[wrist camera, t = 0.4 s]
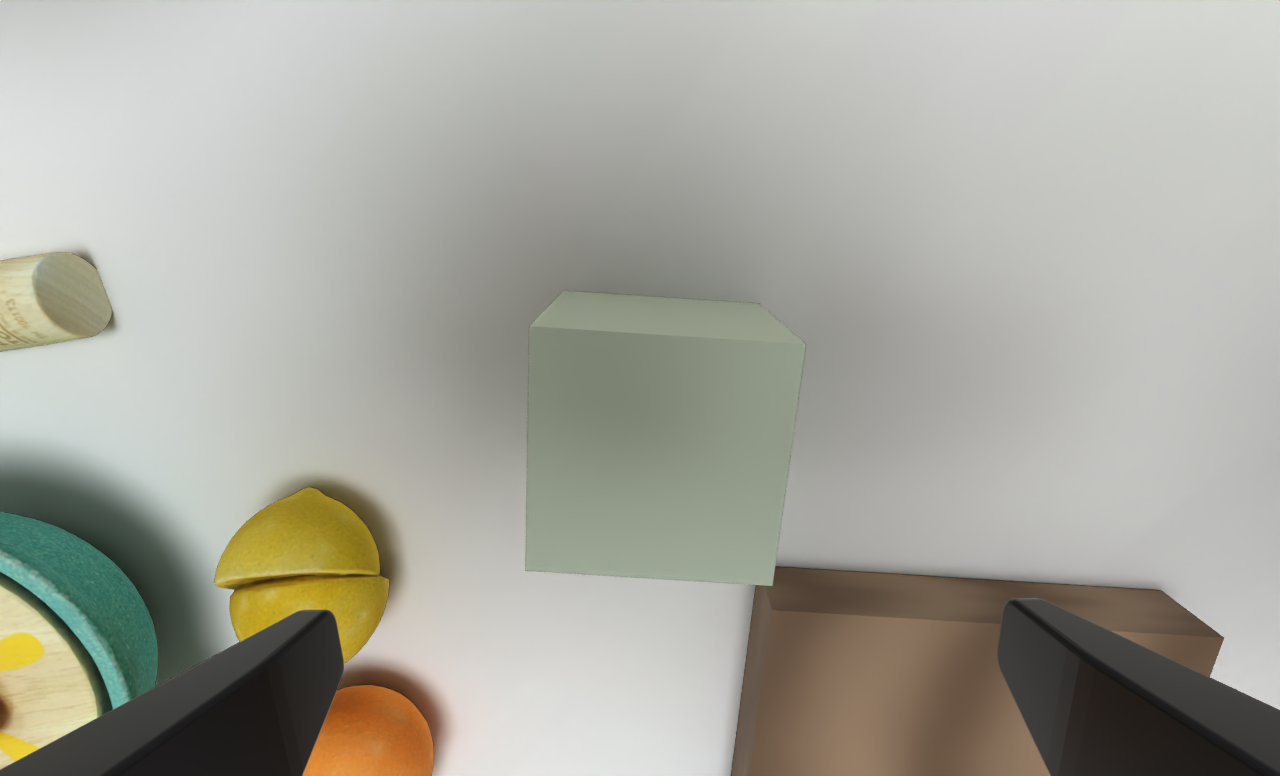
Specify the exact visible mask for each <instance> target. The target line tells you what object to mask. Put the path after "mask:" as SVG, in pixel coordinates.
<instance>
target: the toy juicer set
mask: <svg viewBox="0 0 1280 776" xmlns="http://www.w3.org/2000/svg"><path fill="white" fill-rule="evenodd" d="M111 316H112V307H111V305H110V302H109V299H108V296H107V294H106V291H105V288H104V286H103V283H102V281H101V278H100V276H99V273H98V271H97V270H96V269H95V268H94V267H93V266H92V265H91V264H89V263H88V262H87V261H85V260H84V259H82V258H80V257H78V256H76V255H74V254H70V253H66V252H55V253H48V254H41V255H34V256H27V257H21V258H14V259H8V260H2V261H0V352H2V351H8V350H15V349H22V348H28V347H35V346H42V345H48V344H54V343H59V342H65V341H71V340H76V339H82V338H88V337H92V336H95V335H97V334H99V333H100V332H101V331H102V330H103V329H104V328H106V326H107V324H108V322H109V320H110V318H111ZM214 583H215V585H216V586H218V587H221V588H227V589H234V592H233V594H232V595H231V596H230V616H231V621H232V625H233V627H234V630H235V633H236V636H237V638H238V640H239V641H240V642H241V641H243V640H244V639H246V638H248V637H250V636H252V635H254V634H256V633H258V632H259V631H261V630H263V629H265V628H267V627H269V626H271V625H273V624H275V623H276V622H278V621H280V620H282V619H284V618H286V617H288V616H290V615H291V614H293V613H295V612H297V611H300V610H325V609H327V610H329V611H331V612H332V613H333V614H334V616H335V618H336V622H337V627H338V632H339V637H340V643H341V648H342V653H343V659H344V663H346V662H347V661H349V660H350V659H351V658H352V657H354V656H355V655H356V654H357V653H358V652H359V651H360V650H361V649H362V647H363V646H364V645H365V644H366V643H367V641H368V640H369V638H370V637H371V636H372V634H373V633H374V631H375V629H376V627H377V626H378V624H379V622H380V620H381V617H382V615H383V612H384V609H385V605H386V602H387V598H388V592H389V579H387V578H384V577H382V576H380V562H379V554H378V550H377V547H376V544H375V541H374V539H373V537H372V535H371V533H370V531H369V529H368V527H367V526H366V525H365V524H364V522H363V521H362V520H361V519H360V518H359V517H358V516H357V515H356V514H355V513H354V512H353V511H352V510H351V509H349V508H348V507H347V506H345V505H344V504H342V503H341V502H339V501H336V500H334V499H332V498H329V497H327V496H325V495H324V494H323V493H321V492H320V491H319V490H318V489H314V488H309V487H308V488H305V489H302V490H300V491H298V492H296V493H295V494H293V495H291V496H289V497H287V498H284V499H281V500H279V501H277V502H275V503H273V504H271V505H269V506H267V507H266V508H264V509H263V510H261V511H260V512H258V513H257V514H255V515H254V516H253V517H252V518H251V519H249V520H248V521H247V522H246V523H245V524H244V525H243V526H242V527H241V528H240V529H239V530H238V531H237V533H236V534H235V535H234V536H233V538H232V539H231V540H230V542H229V543H228V545H227V547H226V549H225V551H224V552H223V554H222V556H221V558H220V561H219V564H218V566H217V569H216V574H215V580H214ZM157 666H158V647H157V637H156V633H155V629H154V625H153V621H152V619H151V616H150V613H149V611H148V609H147V607H146V605H145V603H144V601H143V599H142V597H141V596H140V594H139V592H138V591H137V589H136V588H135V586H134V585H133V583H132V582H131V581H130V579H129V578H128V577H127V576H126V575H125V574H124V573H123V572H122V570H121V569H120V568H119V567H118V566H117V565H116V564H115V563H114V562H113V561H112V560H111V559H109V558H108V557H107V556H106V555H104V554H103V553H102V552H100V551H99V550H98V549H96V548H95V547H94V546H92V545H91V544H89V543H87V542H86V541H84V540H82V539H81V538H79V537H77V536H75V535H74V534H72V533H69V532H67V531H65V530H63V529H61V528H59V527H57V526H54V525H51V524H48V523H45V522H42V521H39V520H36V519H33V518H29V517H24V516H19V515H15V514H10V513H5V512H0V769H2V768H4V767H6V766H8V765H10V764H12V763H13V762H15V761H17V760H19V759H21V758H23V757H25V756H27V755H28V754H30V753H32V752H34V751H36V750H38V749H40V748H42V747H44V746H45V745H47V744H49V743H51V742H53V741H55V740H57V739H59V738H60V737H62V736H64V735H66V734H68V733H70V732H72V731H74V730H75V729H77V728H79V727H81V726H83V725H85V724H87V723H89V722H90V721H92V720H94V719H96V718H98V717H100V716H102V715H104V714H105V713H107V712H109V711H111V710H113V709H115V708H117V707H119V706H121V705H122V704H124V703H126V702H128V701H130V700H132V699H134V698H136V697H137V696H139V695H141V694H143V693H145V692H147V691H149V690H151V689H152V688H154V686H155V682H156V678H157ZM433 760H434V750H433V741H432V736H431V733H430V730H429V726H428V723H427V722H426V720H425V719H424V717H423V716H422V714H421V713H420V711H419V710H418V709H417V707H416V706H415V705H414V704H413V703H412V702H411V701H410V700H409V699H407V698H406V697H404V696H403V695H402V694H400V693H398V692H396V691H394V690H391V689H388V688H385V687H380V686H374V685H360V686H350V687H346V688H343V689H340V690H337V692H336V694H335V697H334V699H333V702H332V704H331V707H330V709H329V712H328V714H327V717H326V719H325V721H324V724H323V726H322V729H321V731H320V734H319V736H318V739H317V741H316V744H315V746H314V749H313V751H312V754H311V756H310V759H309V761H308V764H307V766H306V769H305V771H304V774H303V776H432V770H433Z"/></svg>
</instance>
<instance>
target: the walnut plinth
mask: <svg viewBox="0 0 1280 776" xmlns="http://www.w3.org/2000/svg"><path fill="white" fill-rule="evenodd" d="M1016 598H1039V599H1043V600H1046V601H1048V602H1050V603H1052V604H1054V605H1057V606H1059V607H1061V608H1063V609H1065V610H1067V611H1069V612H1072V613H1074V614H1076V615H1078V616H1080V617H1082V618H1084V619H1086V620H1089V621H1091V622H1093V623H1095V624H1097V625H1099V626H1101V627H1103V628H1106V629H1108V630H1110V631H1112V632H1114V633H1116V634H1118V635H1121V636H1123V637H1125V638H1127V639H1129V640H1131V641H1133V642H1135V643H1138V644H1140V645H1142V646H1144V647H1146V648H1148V649H1150V650H1153V651H1155V652H1157V653H1159V654H1161V655H1163V656H1165V657H1167V658H1170V659H1172V660H1174V661H1176V662H1178V663H1180V664H1182V665H1184V666H1187V667H1189V668H1191V669H1193V670H1195V671H1197V672H1199V673H1202V674H1204V675H1206V676H1208V677H1210V674H1211V672H1212V669H1213V666H1214V664H1215V661H1216V658H1217V656H1218V653H1219V650H1220V648H1221V645H1222V642H1223V640H1224V637H1222V636H1221V635H1220V634H1218V633H1217V632H1216V631H1214V630H1213V629H1212V628H1210V627H1209V626H1208V625H1206V624H1205V623H1204V622H1202V621H1201V620H1200V619H1198V618H1197V617H1196V616H1194V615H1193V614H1192V613H1190V612H1189V611H1188V610H1186V609H1185V608H1184V607H1182V606H1181V605H1180V604H1178V603H1177V602H1176V601H1174V600H1173V599H1172V598H1170V597H1169V596H1168V595H1166V594H1165V593H1164V592H1163V591H1160V590H1143V589H1127V588H1111V587H1095V586H1079V585H1063V584H1046V583H1030V582H1014V581H998V580H982V579H966V578H949V577H933V576H917V575H901V574H885V573H869V572H852V571H836V570H820V569H804V568H788V567H775V571H774V579H773V586H764V585H756V588H755V595H754V603H753V611H752V618H751V626H750V634H749V641H748V649H747V656H746V664H745V672H744V679H743V687H742V695H741V702H740V710H739V718H738V725H737V733H736V740H735V748H734V756H733V763H732V771H731V776H1050V774H1049V772H1048V770H1047V768H1046V766H1045V764H1044V761H1043V759H1042V757H1041V755H1040V753H1039V751H1038V749H1037V747H1036V745H1035V743H1034V740H1033V738H1032V736H1031V734H1030V732H1029V730H1028V728H1027V726H1026V724H1025V721H1024V719H1023V717H1022V715H1021V713H1020V711H1019V709H1018V707H1017V705H1016V703H1015V700H1014V698H1013V696H1012V694H1011V692H1010V690H1009V688H1008V686H1007V684H1006V681H1005V679H1004V677H1003V675H1002V673H1001V670H1000V668H999V664H998V659H997V647H998V641H999V634H1000V627H1001V620H1002V613H1003V608H1004V605H1005V603H1006V602H1007V601H1008V600H1010V599H1016Z"/></svg>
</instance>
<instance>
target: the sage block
mask: <svg viewBox="0 0 1280 776" xmlns="http://www.w3.org/2000/svg"><path fill="white" fill-rule="evenodd" d="M805 349H806V344H805V343H804V342H803V341H802V340H801V339H800V338H799V337H797V336H796V335H795V334H794V333H793V332H792V331H791V330H789V329H788V328H787V327H786V326H785V325H784V324H783V323H781V322H780V321H779V320H778V319H777V318H776V317H775V316H773V315H772V314H771V313H770V312H769V311H768V310H767V309H765V308H764V307H763V306H762V305H761V304H760V303H746V302H731V301H716V300H700V299H685V298H670V297H655V296H639V295H624V294H609V293H593V292H578V291H563V292H562V293H561V294H560V295H559V296H558V297H557V298H556V299H555V300H554V301H553V302H552V303H551V304H550V305H549V306H548V307H547V308H546V309H545V310H544V311H543V312H542V313H541V314H540V315H539V317H538V318H537V319H536V320H535V321H534V322H533V323H532V324H531V325H530V326H529V370H528V433H527V495H526V557H525V571H538V572H554V573H570V574H586V575H602V576H619V577H635V578H651V579H667V580H683V581H700V582H716V583H732V584H748V585H764V586H773V579H774V571H775V564H776V557H777V550H778V543H779V535H780V528H781V521H782V514H783V507H784V500H785V492H786V485H787V478H788V471H789V464H790V456H791V449H792V442H793V435H794V428H795V420H796V413H797V406H798V399H799V392H800V385H801V377H802V370H803V363H804V356H805Z"/></svg>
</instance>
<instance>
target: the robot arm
mask: <svg viewBox="0 0 1280 776" xmlns="http://www.w3.org/2000/svg"><path fill="white" fill-rule="evenodd" d="M997 659H998V664H999V668H1000V670H1001V673H1002V675H1003V677H1004V679H1005V681H1006V684H1007V686H1008V688H1009V690H1010V692H1011V694H1012V696H1013V698H1014V700H1015V703H1016V705H1017V707H1018V709H1019V711H1020V713H1021V715H1022V717H1023V719H1024V721H1025V724H1026V726H1027V728H1028V730H1029V732H1030V734H1031V736H1032V738H1033V740H1034V743H1035V745H1036V747H1037V749H1038V751H1039V753H1040V755H1041V757H1042V759H1043V761H1044V764H1045V766H1046V768H1047V770H1048V772H1049V774H1050V776H1280V710H1278V709H1276V708H1274V707H1272V706H1270V705H1268V704H1265V703H1263V702H1261V701H1259V700H1257V699H1255V698H1253V697H1251V696H1248V695H1246V694H1244V693H1242V692H1240V691H1238V690H1236V689H1233V688H1231V687H1229V686H1227V685H1225V684H1223V683H1221V682H1219V681H1216V680H1214V679H1212V678H1210V677H1208V676H1206V675H1204V674H1202V673H1199V672H1197V671H1195V670H1193V669H1191V668H1189V667H1187V666H1184V665H1182V664H1180V663H1178V662H1176V661H1174V660H1172V659H1170V658H1167V657H1165V656H1163V655H1161V654H1159V653H1157V652H1155V651H1153V650H1150V649H1148V648H1146V647H1144V646H1142V645H1140V644H1138V643H1135V642H1133V641H1131V640H1129V639H1127V638H1125V637H1123V636H1121V635H1118V634H1116V633H1114V632H1112V631H1110V630H1108V629H1106V628H1103V627H1101V626H1099V625H1097V624H1095V623H1093V622H1091V621H1089V620H1086V619H1084V618H1082V617H1080V616H1078V615H1076V614H1074V613H1072V612H1069V611H1067V610H1065V609H1063V608H1061V607H1059V606H1057V605H1054V604H1052V603H1050V602H1048V601H1046V600H1043V599H1039V598H1016V599H1010V600H1008V601H1007V602H1006V603H1005V605H1004V608H1003V613H1002V620H1001V627H1000V634H999V641H998V647H997ZM343 670H344V659H343V653H342V648H341V643H340V637H339V632H338V627H337V622H336V618H335V616H334V614H333V613H332V612H331V611H329V610H327V609H325V610H300V611H297V612H295V613H293V614H291V615H290V616H288V617H286V618H284V619H282V620H280V621H278V622H276V623H275V624H273V625H271V626H269V627H267V628H265V629H263V630H261V631H259V632H258V633H256V634H254V635H252V636H250V637H248V638H246V639H244V640H243V641H241V642H239V643H237V644H235V645H233V646H231V647H229V648H228V649H226V650H224V651H222V652H220V653H218V654H216V655H214V656H213V657H211V658H209V659H207V660H205V661H203V662H201V663H199V664H198V665H196V666H194V667H192V668H190V669H188V670H186V671H184V672H182V673H181V674H179V675H177V676H175V677H173V678H171V679H169V680H167V681H166V682H164V683H162V684H160V685H158V686H156V687H154V688H152V689H151V690H149V691H147V692H145V693H143V694H141V695H139V696H137V697H136V698H134V699H132V700H130V701H128V702H126V703H124V704H122V705H121V706H119V707H117V708H115V709H113V710H111V711H109V712H107V713H105V714H104V715H102V716H100V717H98V718H96V719H94V720H92V721H90V722H89V723H87V724H85V725H83V726H81V727H79V728H77V729H75V730H74V731H72V732H70V733H68V734H66V735H64V736H62V737H60V738H59V739H57V740H55V741H53V742H51V743H49V744H47V745H45V746H44V747H42V748H40V749H38V750H36V751H34V752H32V753H30V754H28V755H27V756H25V757H23V758H21V759H19V760H17V761H15V762H13V763H12V764H10V765H8V766H6V767H4V768H2V769H0V776H303V774H304V771H305V769H306V766H307V764H308V761H309V759H310V756H311V754H312V751H313V749H314V746H315V744H316V741H317V739H318V736H319V734H320V731H321V729H322V726H323V724H324V721H325V719H326V717H327V714H328V712H329V709H330V707H331V704H332V702H333V699H334V697H335V694H336V692H337V689H338V687H339V684H340V682H341V679H342V675H343Z"/></svg>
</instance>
